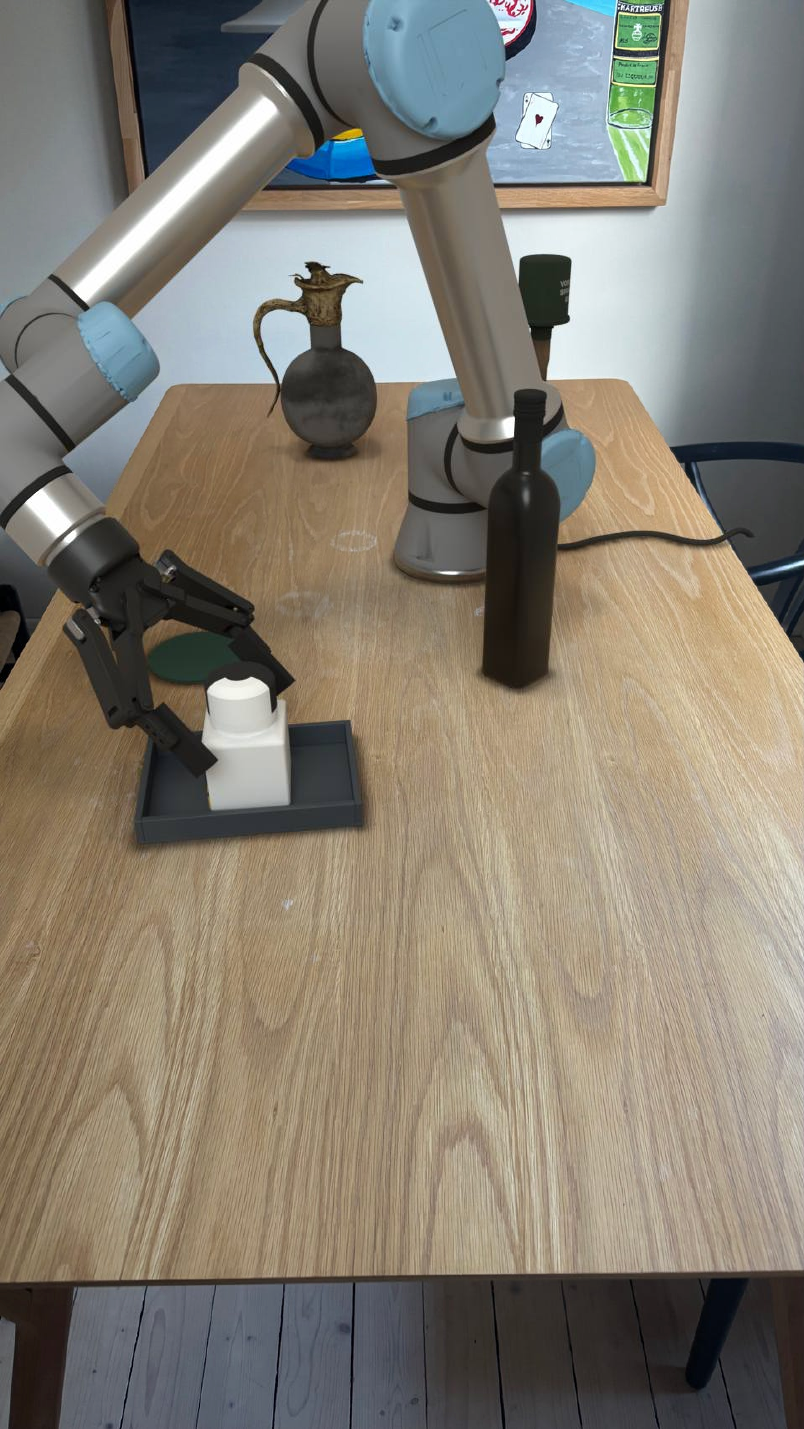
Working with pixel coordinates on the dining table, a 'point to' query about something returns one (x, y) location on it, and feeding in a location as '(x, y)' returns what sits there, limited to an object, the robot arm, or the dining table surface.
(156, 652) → the coaster
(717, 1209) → the dining table surface
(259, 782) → the medicine bottle
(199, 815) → the tray
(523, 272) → the stick grenade
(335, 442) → the pitcher
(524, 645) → the wine bottle
